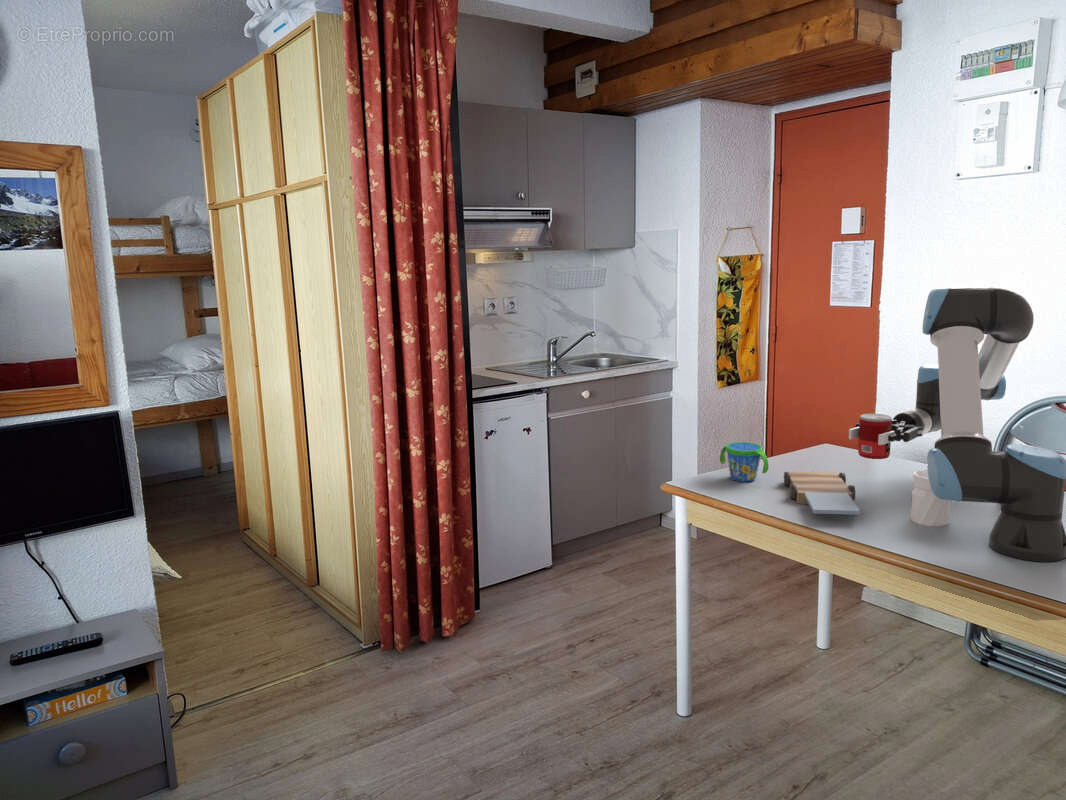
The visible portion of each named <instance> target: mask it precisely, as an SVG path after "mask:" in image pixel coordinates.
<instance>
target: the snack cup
mask: <svg viewBox="0 0 1066 800" xmlns="http://www.w3.org/2000/svg"><path fill="white" fill-rule="evenodd" d="M726 453H727V457H726ZM726 458H727V459H726ZM760 459H761V460H762V462H763V468H762V471H761V473H762V474H766V473H767V472H768V470H769V460H768V457H767V455H766V453H765V452H764V451H763V446H762V445H760V444H758V443H754V442H746V441H737V442H731V443H728V444H726V445H725V446H723V447H722V449H721V451H720V456H719V462H720V464H722V465H723V464H726V461H727V462H728V468H729V476H730V478H731V480H733V481H736V482H737V481H738V482H742V483H744V482H746V483H747V482H754V481H755V480H756V479H757V477H758V470H759V466H760V461H761V460H760Z"/></svg>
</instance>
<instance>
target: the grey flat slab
mask: <svg viewBox="0 0 1066 800" xmlns="http://www.w3.org/2000/svg"><path fill="white" fill-rule="evenodd" d="M804 496H805V498H806V500H807V502H808V504H807V505H809V507H810V509H811V511H812V513H813V514H816V515H817V514H819V515H820V514H822V515H823V514H825V515H861V511H860V508H859V506H857V504H856V503H855V500H852V499H851V497H850V496H849V494H848V493H813V492H805V494H804Z"/></svg>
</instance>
